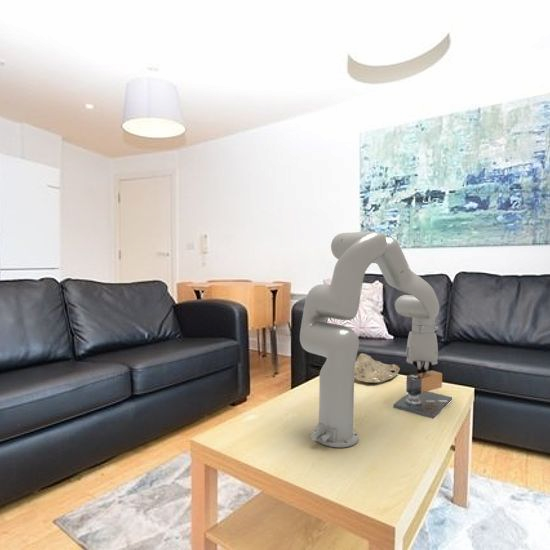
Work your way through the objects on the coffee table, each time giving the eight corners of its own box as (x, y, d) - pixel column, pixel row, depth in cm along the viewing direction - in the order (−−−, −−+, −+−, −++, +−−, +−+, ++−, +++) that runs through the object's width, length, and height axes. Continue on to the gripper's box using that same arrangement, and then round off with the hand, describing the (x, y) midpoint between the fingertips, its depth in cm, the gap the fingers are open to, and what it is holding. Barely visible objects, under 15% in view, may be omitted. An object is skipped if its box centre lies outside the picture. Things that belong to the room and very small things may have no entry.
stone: (369, 344, 178) (402, 345, 170) (372, 364, 180) (404, 367, 171) (344, 371, 154) (380, 374, 146) (347, 394, 156) (384, 399, 147)
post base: (434, 418, 120) (434, 404, 120) (393, 407, 128) (393, 394, 128) (453, 400, 135) (453, 388, 135) (415, 391, 144) (415, 379, 143)
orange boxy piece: (414, 395, 127) (415, 378, 126) (403, 391, 131) (403, 374, 130) (442, 387, 134) (443, 372, 134) (430, 383, 138) (431, 368, 138)
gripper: (440, 328, 140) (439, 377, 141) (399, 326, 142) (397, 375, 143) (448, 332, 133) (446, 384, 134) (404, 330, 134) (402, 382, 135)
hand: (421, 379), depth 138 cm, fingers closed
